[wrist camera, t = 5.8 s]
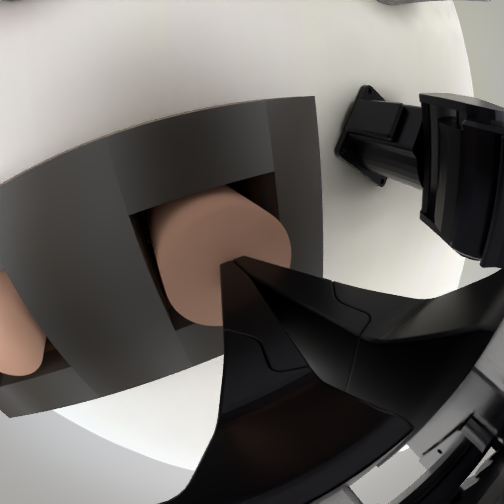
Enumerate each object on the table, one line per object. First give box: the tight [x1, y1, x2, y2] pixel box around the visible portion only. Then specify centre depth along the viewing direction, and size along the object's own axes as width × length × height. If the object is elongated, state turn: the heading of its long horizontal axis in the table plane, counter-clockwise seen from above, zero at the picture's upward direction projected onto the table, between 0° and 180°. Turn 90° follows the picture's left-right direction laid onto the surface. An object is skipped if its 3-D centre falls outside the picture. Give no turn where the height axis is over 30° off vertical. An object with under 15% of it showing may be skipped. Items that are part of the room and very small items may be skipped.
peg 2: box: [145, 185, 291, 326], centre depth 11 cm, size 4×4×6 cm
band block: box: [0, 96, 323, 418], centre depth 11 cm, size 19×10×7 cm, turn 99°
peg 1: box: [0, 269, 46, 376], centre depth 9 cm, size 4×4×6 cm
